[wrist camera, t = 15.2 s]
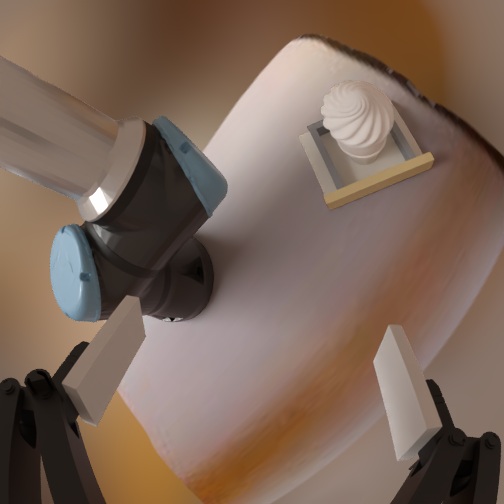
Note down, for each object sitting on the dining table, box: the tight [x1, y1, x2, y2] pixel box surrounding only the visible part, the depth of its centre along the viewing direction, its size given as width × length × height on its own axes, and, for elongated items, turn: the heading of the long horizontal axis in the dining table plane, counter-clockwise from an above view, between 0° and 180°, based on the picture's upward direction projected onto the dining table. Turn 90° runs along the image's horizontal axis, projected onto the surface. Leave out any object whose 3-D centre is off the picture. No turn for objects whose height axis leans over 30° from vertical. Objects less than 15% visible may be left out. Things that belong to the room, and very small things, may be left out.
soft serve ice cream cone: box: [320, 81, 394, 165], centre depth 31 cm, size 8×8×16 cm
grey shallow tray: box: [298, 98, 434, 210], centre depth 37 cm, size 13×16×4 cm
